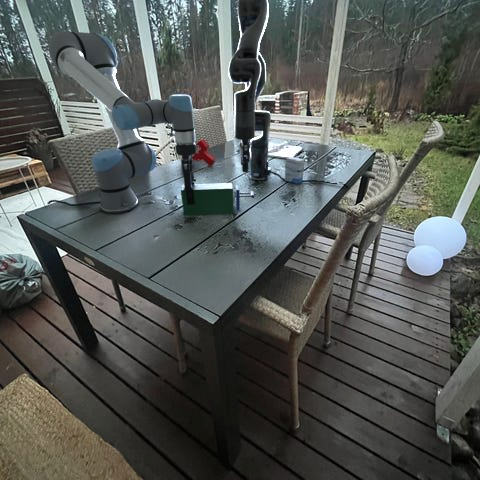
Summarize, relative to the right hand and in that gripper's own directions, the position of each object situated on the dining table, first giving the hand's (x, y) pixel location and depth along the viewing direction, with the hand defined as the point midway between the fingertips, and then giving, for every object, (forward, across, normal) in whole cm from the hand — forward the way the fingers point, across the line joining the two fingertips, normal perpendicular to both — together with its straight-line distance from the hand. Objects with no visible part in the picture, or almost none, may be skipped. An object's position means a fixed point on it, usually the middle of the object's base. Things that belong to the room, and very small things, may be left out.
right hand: (244, 168), depth 107 cm
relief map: (+17, -91, +28) cm, 97 cm away
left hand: (+13, +1, -22) cm, 25 cm away
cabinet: (+18, +1, -15) cm, 23 cm away
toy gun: (+17, -64, -24) cm, 71 cm away
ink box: (+18, -31, +28) cm, 45 cm away
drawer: (+17, +1, -9) cm, 19 cm away
